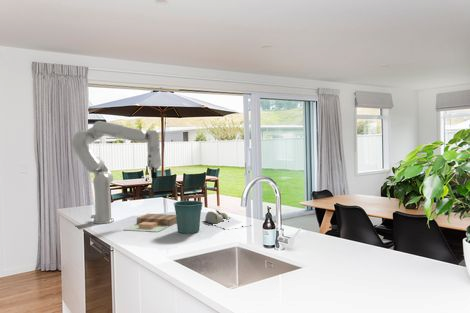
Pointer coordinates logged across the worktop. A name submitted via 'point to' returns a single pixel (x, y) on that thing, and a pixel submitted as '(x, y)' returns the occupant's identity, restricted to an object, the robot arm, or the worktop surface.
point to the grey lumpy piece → (215, 217)
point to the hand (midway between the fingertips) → (154, 178)
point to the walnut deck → (158, 219)
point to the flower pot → (188, 216)
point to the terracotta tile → (148, 225)
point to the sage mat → (136, 228)
